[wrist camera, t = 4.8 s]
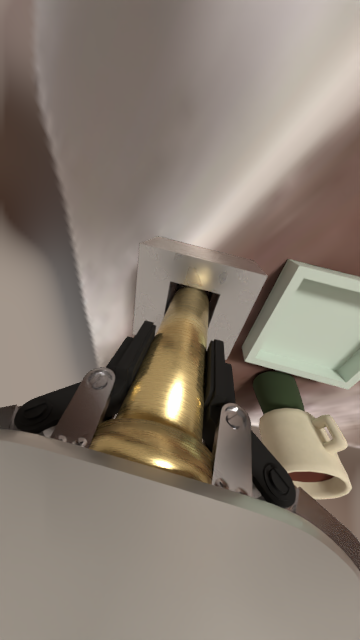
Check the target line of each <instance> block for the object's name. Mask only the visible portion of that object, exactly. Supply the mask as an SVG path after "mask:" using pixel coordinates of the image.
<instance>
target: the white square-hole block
mask: <svg viewBox="0 0 360 640" xmlns="http://www.w3.org/2000/svg"><path fill="white" fill-rule="evenodd" d="M266 278H267V275H266V274H265V272H264V271H263V270H262V269H261V268H260V267H259V266H258V265H257V264H256V262H255V261H254V260H250V259H246V258H242V257H238V256H234V255H230V254H226V253H222V252H218V251H214V250H211V249H207V248H203V247H199V246H195V245H191V244H187V243H183V242H179V241H175V240H171V239H167V238H163V237H159V236H158V237H155V238H152V239H150V240H147V241H144V242H142V243H139V256H138V269H137V282H136V295H135V309H134V322H133V335H136V334H137V332H138V331H139V329H140V327H141V326H142V324H143V323H144V321H145V320H146V321H150V322H153V323H154V325H156V331H155V335H156V333H157V331H158V329H159V327H160V324H161V322H162V320H163V318H164V316H165V314H166V312H167V310H168V308H169V306H170V304H171V302H172V299H173V297H174V294H175V290H176V285H177V283H179V284H183V285H187V286H190V287H194V288H198V289H202V290H206V291H210V292H213V294H212V297H211V300H210V303H209V314H208V333H207V349H208V346H209V344H210V341H211V340H212V341H214V339H217V340H221V341H223V342H224V354H225V360H227V358H228V356H229V354H230V352H231V350H232V348H233V346H234V344H235V342H236V340H237V338H238V335H239V333H240V331H241V329H242V327H243V325H244V323H245V321H246V319H247V317H248V315H249V313H250V311H251V309H252V307H253V305H254V303H255V301H256V299H257V297H258V295H259V293H260V291H261V289H262V287H263V285H264V283H265V281H266Z"/></svg>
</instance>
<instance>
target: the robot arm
mask: <svg viewBox="0 0 360 640" xmlns="http://www.w3.org/2000/svg"><path fill="white" fill-rule="evenodd" d="M155 331H156V325H154V323H153V322H150V321H146V320H145V321H144V323H143V324H142V326H141V327H140V329H139V331H138V332H137V334H136V335H135V337H134V338H132V337H127V338H126V339H125V340H124V342H123V343H122V345H121V346H120V348H119V349H118V351H117V352H116V353H115V355H114V356H113V358H112V359H111V361H110V362H109V364H108V365H107V366H106V368H102V367H100V368H95V369H93V370H91V371H90V372H88V373H87V374H86V375H85V377H84V378H83V380H82V382H80V383H77V384H74V385H71V386H68V387H65V388H63V389H59V390H57V391H54V392H51V393H48V394H45V395H43V396H39V397H37V398H34V399H32V400H30V401H28V402H27V403H25V404H24V405H23V406H17V405H12V406H6V407H1V408H0V640H360V542H359V541H358V539H357V538H356V537H355V536H354V535H353V534H352V533H351V531H350V530H348V529H347V528H346V527H345V526H344V525H342V523H341V522H339V521H338V520H337V519H336V518H335V517H333V515H332V514H330V513H329V512H328V511H327V510H326V509H325V508H323V507H322V506H321V505H320V504H319V503H318V502H317V501H316V500H315V499H313V498H312V497H311V496H310V495H309V494H308V493H307V492H305V491H304V490H303V489H302V488H301V487H298V488H297V487H296V486H295V485H294V483H293V481H292V479H291V477H290V475H289V474H288V473H287V471H286V470H285V469H284V467H283V466H282V465H281V464H280V463H279V462H278V461H277V459H276V458H275V457H274V456H273V455H272V454H271V452H270V451H269V450H268V449H267V448H266V447H265V445H264V444H263V443H262V442H261V441H260V440H259V439H258V437H257V436H256V435H255V434H254V433H253V432H252V430H251V422H250V418H249V416H248V414H247V413H246V411H245V410H244V409H243V408H242V407H241V406H239V405H237V404H236V403H235V393H234V384H233V375H232V366H231V364H227V363H225V354H224V342H223V341H221V340H217V339H214V341H212V340H211V341H210V344H209V346H208V349H207V353H206V372H205V391H204V411H203V430H202V438H203V442H202V444H203V445H204V446H206V447H207V448H208V450H209V451H210V452H211V453H212V455H213V457H214V461H213V474H212V485H211V484H208V483H204V482H201V481H197V480H194V479H191V478H187V477H184V476H181V475H177V474H174V473H171V472H167V471H164V470H160V469H157V468H154V467H150V466H147V465H143V464H140V463H137V462H133V461H130V460H126V459H123V458H120V457H116V456H113V455H109V454H106V453H102V452H99V451H95V450H92V449H89V446H90V444H91V442H92V440H93V437H94V435H95V433H96V431H97V428H98V426H99V424H101V423H103V422H105V421H108V420H112V419H114V416H115V414H117V413H118V412H119V410H120V408H121V406H122V404H123V401H124V399H125V397H126V395H127V393H128V391H129V389H130V387H131V385H132V383H133V381H134V379H135V377H136V374H137V372H138V370H139V368H140V366H141V364H142V362H143V360H144V358H145V356H146V354H147V352H148V349H149V347H150V345H151V343H152V341H153V339H154V337H155Z"/></svg>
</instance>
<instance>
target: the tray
mask: <svg viewBox="0 0 360 640" xmlns="http://www.w3.org/2000/svg"><path fill="white" fill-rule="evenodd" d="M242 351H243V356H244V361H245V362H249V363H253V364H256V365H260V366H264V367H267V368H271V369H275V370H278V371H282V372H286V373H289V374H293V375H297V376H300V377H304V378H308V379H312V380H315V381H319V382H323V383H326V384H330V385H334V386H337V387H341V388H345V389H350V388H351V387H352V386H353V385H354V384H355V383H357V382H358V381H359V380H360V277H358V276H354V275H350V274H346V273H342V272H338V271H334V270H330V269H326V268H322V267H318V266H314V265H310V264H306V263H302V262H298V261H294V260H290V259H288V260H287V262H286V264H285V266H284V268H283V269H282V271H281V273H280V275H279V277H278V279H277V281H276V283H275V285H274V287H273V288H272V290H271V292H270V294H269V296H268V298H267V300H266V302H265V304H264V306H263V307H262V309H261V311H260V313H259V315H258V317H257V319H256V321H255V323H254V324H253V326H252V328H251V330H250V332H249V334H248V336H247V338H246V340H245V342H244V343H243V345H242Z"/></svg>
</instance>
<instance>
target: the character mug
mask: <svg viewBox="0 0 360 640" xmlns="http://www.w3.org/2000/svg"><path fill="white" fill-rule="evenodd" d="M253 388H254V391H255V394H256V397H257V399H258V402H259V404H260V407H261V409H262V412H263V414H264V415H263V416H262V417H261V418H260V423H259V430H260V435H261V439H262V443H263V444H264V445H265V447H266V448H267V449H268V450H269V451H270V452H271V454H272V455H273V456H274V457H275V458H276V459H277V461H278V462H279V463H280V464H281V465H282V466H283V467H284V469H285V470H286V471H287V473H288V474H289V475H290V477H291V479H292V481H293V483H294V485H295V486H296V487H297V488H298V487H301V488H302V489H303V490H304V491H305V492H307V493H308V494H309V495H310V496H311V497H312V498H313V499H332V498H338V497H341V496H344V495H346V494H348V493H349V491H350V490H351V489H352V487H351V483H350V481H349V478H348V475H347V473H346V471H345V469H344V467H343V465H342V463H341V462H340V460H339V456H338V454H337V452H339V451H342V450H344V449H345V448H347V447H348V445H347V442H346V440H345V438H344V436H343V435H342V433H341V431H340V429H339V428H338V426H337V424H336V423H335V421H334V420H333V418H332V417H331V416H330V415H322V416H320V417H318V418H314V417H313V416H312V415H311V414H309V413H308V412H305V411H304V406H303V403H302V400H301V396H300V393H299V389H298V387H297V384H296V381H295V379H294V378H293V377H292V376H291V375H289V374H286V373H282V372H272V371H269V372H265V373H262V374H260V375H258V376H257V377H256V378H255V379H254V382H253ZM324 427H327V428H328V430H329V432H330V434H331V436H332V438H333V439H332V440H331V441H330V439H329V437H328V435H327V433H326V431H325V429H324Z"/></svg>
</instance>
